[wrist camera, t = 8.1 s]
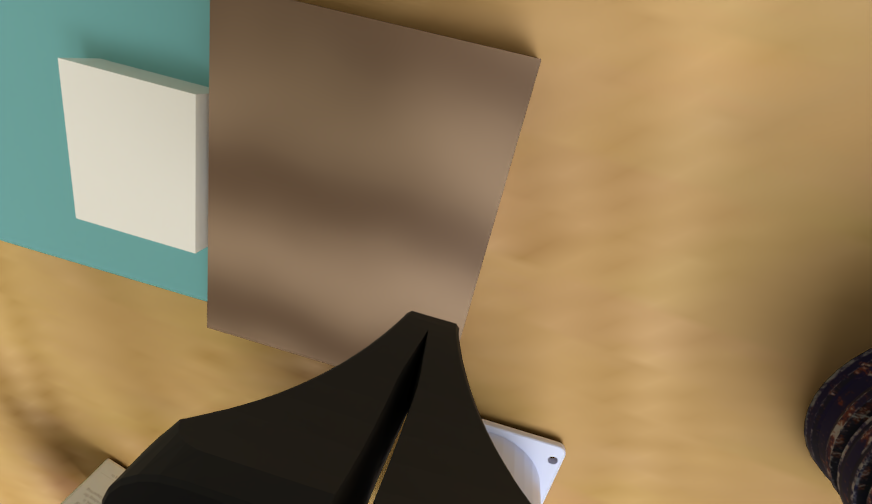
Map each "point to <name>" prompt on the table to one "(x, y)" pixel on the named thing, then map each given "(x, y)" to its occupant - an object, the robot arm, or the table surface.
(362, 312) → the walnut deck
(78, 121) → the ceramic tile
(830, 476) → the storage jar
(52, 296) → the table surface
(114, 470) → the skincare box
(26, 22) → the teal mat
